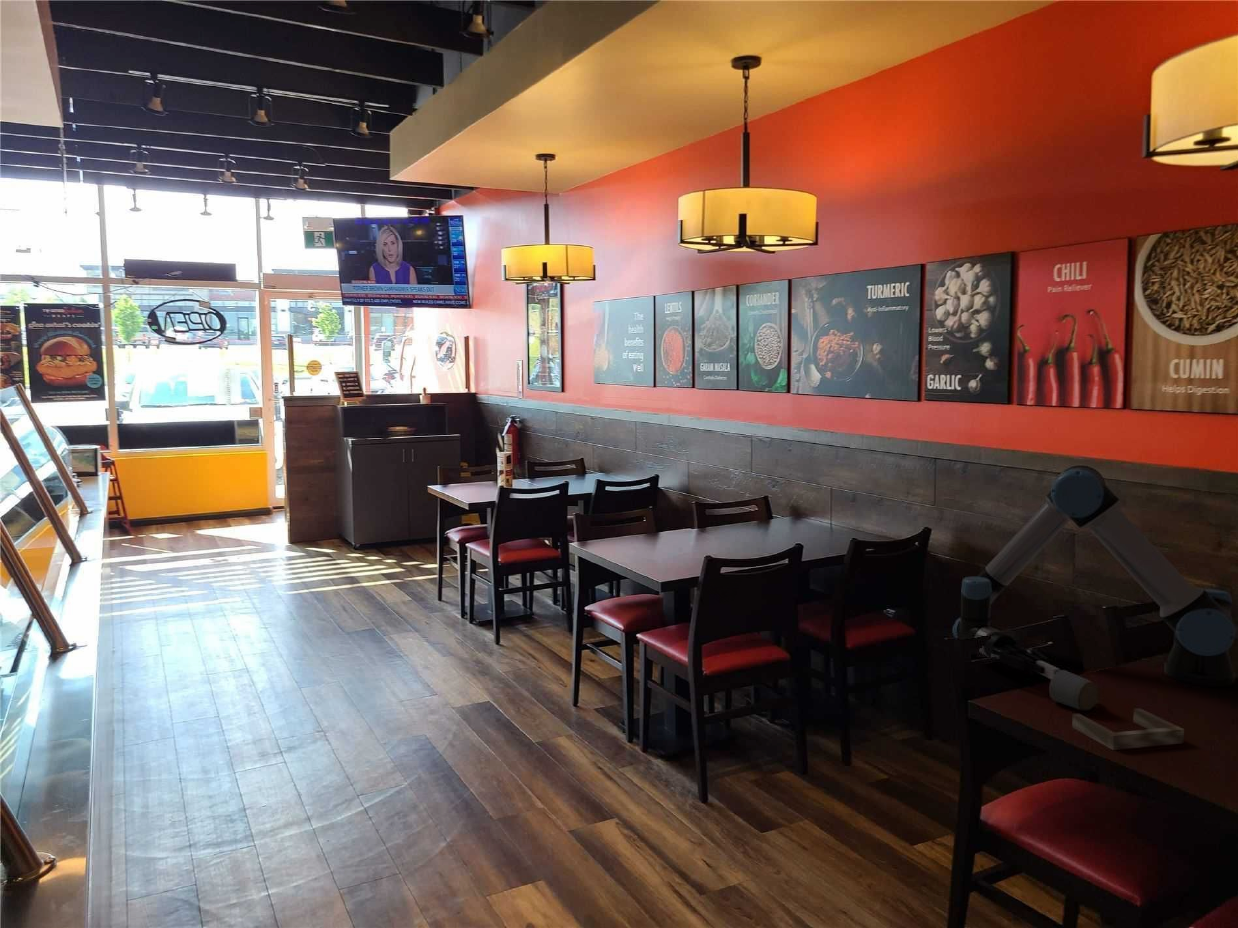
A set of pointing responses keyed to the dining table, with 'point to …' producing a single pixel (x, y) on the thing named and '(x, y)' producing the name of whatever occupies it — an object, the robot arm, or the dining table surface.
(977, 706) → the dining table surface
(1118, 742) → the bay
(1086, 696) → the ceramic mug
